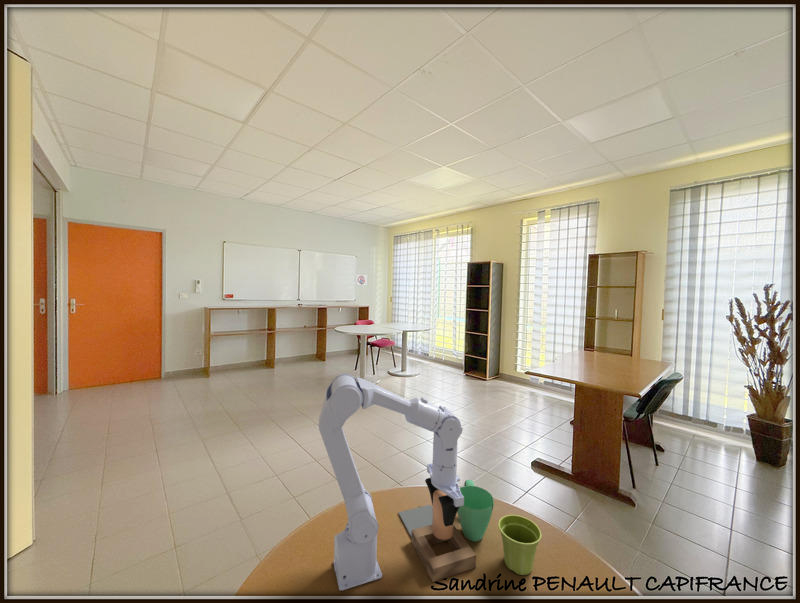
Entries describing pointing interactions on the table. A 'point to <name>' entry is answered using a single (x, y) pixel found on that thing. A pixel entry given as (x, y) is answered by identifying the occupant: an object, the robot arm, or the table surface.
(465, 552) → the holder
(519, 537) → the plant pot
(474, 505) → the mug
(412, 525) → the mat
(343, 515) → the table surface
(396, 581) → the table surface
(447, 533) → the peach rounded cylinder
